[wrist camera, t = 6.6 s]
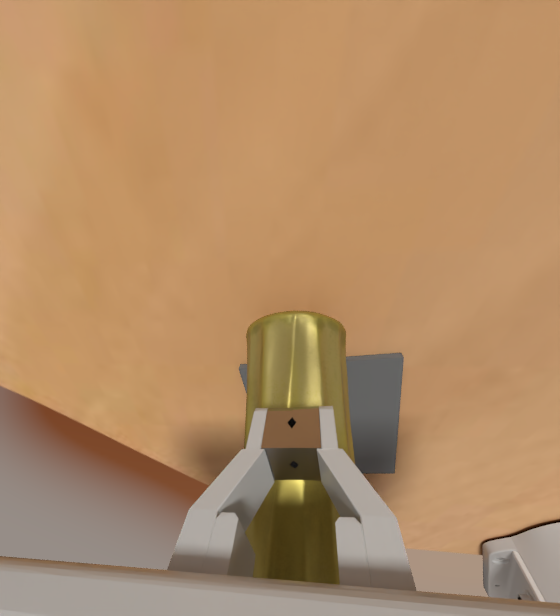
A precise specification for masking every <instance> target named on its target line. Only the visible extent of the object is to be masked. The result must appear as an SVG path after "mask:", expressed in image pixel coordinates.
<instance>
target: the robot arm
mask: <svg viewBox="0 0 560 616" xmlns="http://www.w3.org/2000/svg"><path fill="white" fill-rule="evenodd" d="M274 480H312V481H321V482H322V484H323V486H324V488H325V489H326V491H327V493H328V495H329V497H330V499H331V500H332V502H333V504H334V506H335V508H336V509H337V511H338V513H339V515H340V517H339V518H338V519H337V521H336V522H335V526H336V540H337V553H338V566H339V580H340V585H338V584H326V583H314V582H302V581H290V580H279V579H267V578H255V577H253V570H254V562H255V553H254V551H253V548H252V546H251V544H250V542H249V540H248V538H247V536H246V534H245V531H246V530H247V528H248V526H249V525H250V523H251V521H252V519H253V518H254V516H255V514H256V513H257V511H258V509H259V508H260V506H261V504H262V502H263V501H264V499H265V497H266V496H267V494H268V492H269V490H270V489H271V487H272V485H273V484H274ZM483 584H484V588H485V590H486V592H487V594H488V596H489V597H481V596H469V595H457V594H444V593H433V592H421V591H416V587H415V583H414V580H413V576H412V572H411V569H410V565H409V562H408V558H407V555H406V551H405V547H404V543H403V539H402V536H401V532H400V529H399V525H398V521H397V518H396V517H395V515H394V514H393V513H392V511H391V510H390V509H389V508H388V506H387V505H386V504H385V502H384V501H383V500H382V499H381V497H380V496H379V495H378V493H377V492H376V491H375V490H374V488H373V487H372V486H371V484H370V483H369V482H368V481H367V479H366V478H365V477H364V475H363V474H362V473H361V472H360V470H359V469H358V468H357V466H356V465H355V464H354V463H353V461H352V460H351V459H350V457H349V456H348V455H347V454H346V452H345V451H344V450H343V449H339V448H338V442H337V434H336V426H335V418H334V410H333V406H309V407H293V408H256V409H255V411H254V414H253V418H252V422H251V427H250V431H249V435H248V440H247V444H246V448H245V449H241V450H240V451H239V453H238V454H237V455H236V456H235V457H234V458H233V459H232V461H231V462H230V463H229V464H228V465H227V466H226V467H225V469H224V470H223V471H222V472H221V473H220V474H219V476H218V477H217V478H216V479H215V480H214V481H213V482H212V484H211V485H210V486H209V487H208V488H207V489H206V491H205V492H204V493H203V494H202V495H201V496H200V497H199V499H198V500H197V501H196V502H195V503H194V504H193V505H192V507H191V508H190V509H189V511H188V514H187V517H186V519H185V523H184V525H183V528H182V530H181V533H180V536H179V539H178V541H177V544H176V547H175V550H174V553H173V555H172V558H171V561H170V563H169V566H168V569H167V570H158V569H148V568H135V567H124V566H111V565H100V564H88V563H75V562H64V561H51V560H40V559H28V558H17V557H5V556H4V557H3V556H0V616H560V522H559V523H554V524H549V525H545V526H541V527H538V528H534V529H531V530H528V531H526V532H523V533H521V534H518V535H515V536H512V537H508V538H502V539H497V540H492V541H488V542H486V543H484V544H483Z"/></svg>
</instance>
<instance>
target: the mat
mask: <svg viewBox="0 0 560 616" xmlns="http://www.w3.org/2000/svg"><path fill="white" fill-rule="evenodd" d="M403 359H404V357H403V355H402V354H401V353H393V354H379V355H365V356H351V357H346V365H347V377H348V396H349V410H350V424H351V433H352V441H353V449H354V458H355V465H356V466H357V468H358V469H359V470H360V472H361V473H395V460H396V448H397V435H398V422H399V410H400V397H401V385H402V372H403ZM239 371H240V374H241V377H242V381H243V384H244V387H245V390H246V393H247V364H240V367H239Z"/></svg>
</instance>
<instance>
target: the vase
mask: <svg viewBox="0 0 560 616" xmlns="http://www.w3.org/2000/svg"><path fill="white" fill-rule="evenodd" d="M246 338H247V401H246V423H245V442H244V449H245V448H246V444H247V440H248V435H249V431H250V427H251V422H252V418H253V414H254V411H255V409H256V408H293V407H309V406H333V410H334V418H335V426H336V434H337V442H338V448H339V449H343V450H344V451H345V452H346V454H347V455H348V456H349V457H350V459H351V460H352V461H353V463H354V464H355V458H354V449H353V441H352V433H351V424H350V410H349V396H348V377H347V365H346V331H345V329H344V327H343V325H342V324H341V323H340V322H339V321H337V320H335V319H333V318H331V317H329V316H326V315H323V314H320V313H315V312H308V311H286V312H279V313H274V314H270V315H267V316H264V317H262V318H260V319H258V320H256V321H255V322H253V323H252V324H251V325H250V326H249V328H248V330H247V334H246ZM339 517H340V515H339V513H338V511H337V509H336V508H335V506H334V504H333V502H332V500H331V499H330V497H329V495H328V493H327V491H326V489H325V488H324V486H323V484H322V482H321V481H312V480H274V484H273V485H272V487H271V489H270V490H269V492H268V494H267V496H266V497H265V499H264V501H263V502H262V504H261V506H260V508H259V509H258V511H257V513H256V514H255V516H254V518H253V519H252V521H251V523H250V525H249V526H248V528H247V530H246V531H245V534H246V536H247V538H248V540H249V542H250V544H251V546H252V548H253V551H254V553H255V562H254V570H253V577H255V578H267V579H279V580H290V581H302V582H314V583H326V584H338V585H340V580H339V566H338V553H337V540H336V526H335V522H336V521H337V519H338V518H339Z"/></svg>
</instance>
